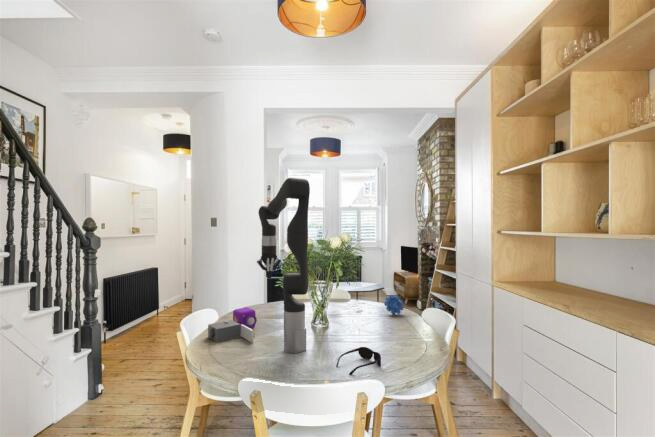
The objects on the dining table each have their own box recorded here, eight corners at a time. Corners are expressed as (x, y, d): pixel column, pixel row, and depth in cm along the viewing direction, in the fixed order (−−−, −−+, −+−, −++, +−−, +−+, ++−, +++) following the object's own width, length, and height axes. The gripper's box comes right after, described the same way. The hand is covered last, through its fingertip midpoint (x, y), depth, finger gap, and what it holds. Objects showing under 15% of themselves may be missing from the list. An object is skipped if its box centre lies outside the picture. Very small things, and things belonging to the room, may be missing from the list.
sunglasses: (386, 367, 133) (386, 354, 133) (354, 378, 124) (354, 364, 124) (362, 356, 144) (362, 344, 145) (332, 365, 135) (332, 353, 135)
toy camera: (246, 332, 175) (246, 313, 176) (229, 328, 184) (229, 309, 184) (262, 327, 184) (262, 308, 184) (245, 323, 192) (245, 305, 192)
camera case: (240, 336, 170) (240, 322, 170) (214, 342, 161) (214, 328, 161) (231, 331, 177) (231, 318, 177) (205, 337, 168) (205, 323, 168)
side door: (243, 335, 171) (243, 324, 171) (254, 341, 161) (254, 330, 161) (240, 335, 170) (240, 324, 170) (251, 342, 160) (251, 330, 160)
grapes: (385, 316, 206) (385, 296, 206) (383, 313, 213) (383, 293, 213) (405, 316, 206) (404, 296, 206) (402, 313, 213) (402, 293, 213)
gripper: (278, 243, 185) (278, 276, 185) (254, 244, 179) (254, 278, 179) (283, 244, 179) (283, 278, 179) (259, 245, 172) (259, 280, 172)
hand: (268, 278), depth 179 cm, fingers closed
